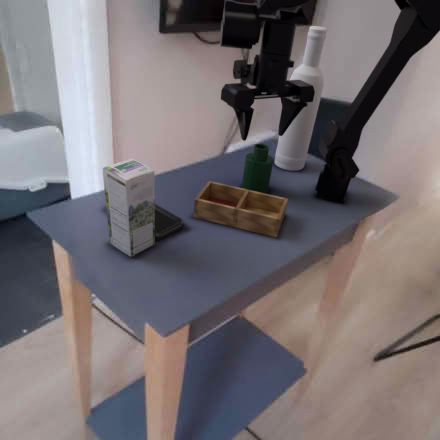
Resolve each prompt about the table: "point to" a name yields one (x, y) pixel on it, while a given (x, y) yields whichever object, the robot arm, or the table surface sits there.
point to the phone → (166, 223)
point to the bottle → (304, 122)
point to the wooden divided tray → (240, 208)
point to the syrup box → (130, 206)
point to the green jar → (257, 169)
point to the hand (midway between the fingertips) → (262, 137)
